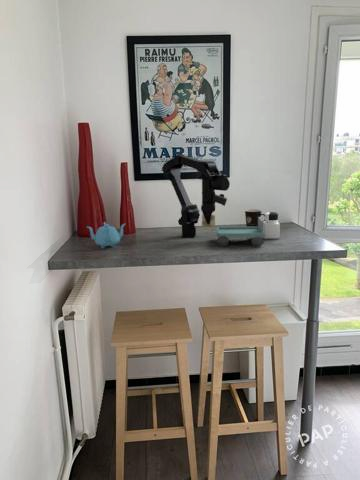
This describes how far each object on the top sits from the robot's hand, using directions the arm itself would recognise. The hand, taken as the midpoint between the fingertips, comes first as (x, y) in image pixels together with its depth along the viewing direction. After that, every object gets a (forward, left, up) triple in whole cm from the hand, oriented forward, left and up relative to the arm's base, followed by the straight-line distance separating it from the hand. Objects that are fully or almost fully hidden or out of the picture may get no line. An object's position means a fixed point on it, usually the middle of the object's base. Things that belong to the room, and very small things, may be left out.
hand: (208, 223), depth 167 cm
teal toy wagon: (+14, -4, -8) cm, 17 cm away
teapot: (-46, -9, -9) cm, 48 cm away
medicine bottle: (+30, +7, -9) cm, 32 cm away
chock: (0, 0, -1) cm, 1 cm away
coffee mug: (+24, +24, -9) cm, 35 cm away
